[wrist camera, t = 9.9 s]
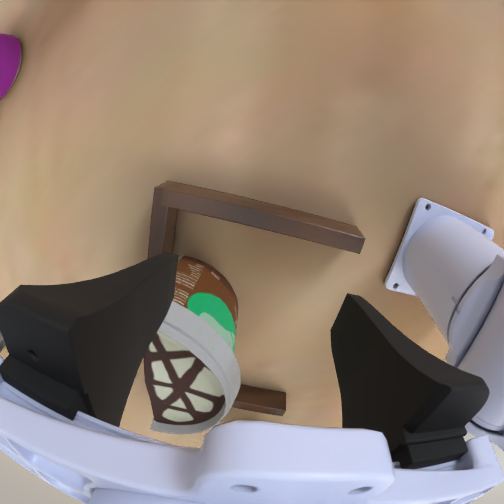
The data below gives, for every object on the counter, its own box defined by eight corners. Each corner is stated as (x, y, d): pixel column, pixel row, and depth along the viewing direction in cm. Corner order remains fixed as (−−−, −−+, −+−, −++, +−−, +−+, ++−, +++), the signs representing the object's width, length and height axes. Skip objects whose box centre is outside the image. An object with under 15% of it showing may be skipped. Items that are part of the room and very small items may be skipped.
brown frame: (357, 226, 21) (365, 238, 19) (282, 398, 29) (282, 416, 27) (167, 180, 21) (154, 187, 19) (154, 367, 29) (146, 383, 27)
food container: (242, 364, 27) (227, 450, 18) (182, 352, 28) (150, 432, 18) (262, 252, 22) (250, 337, 13) (185, 238, 23) (128, 311, 13)
